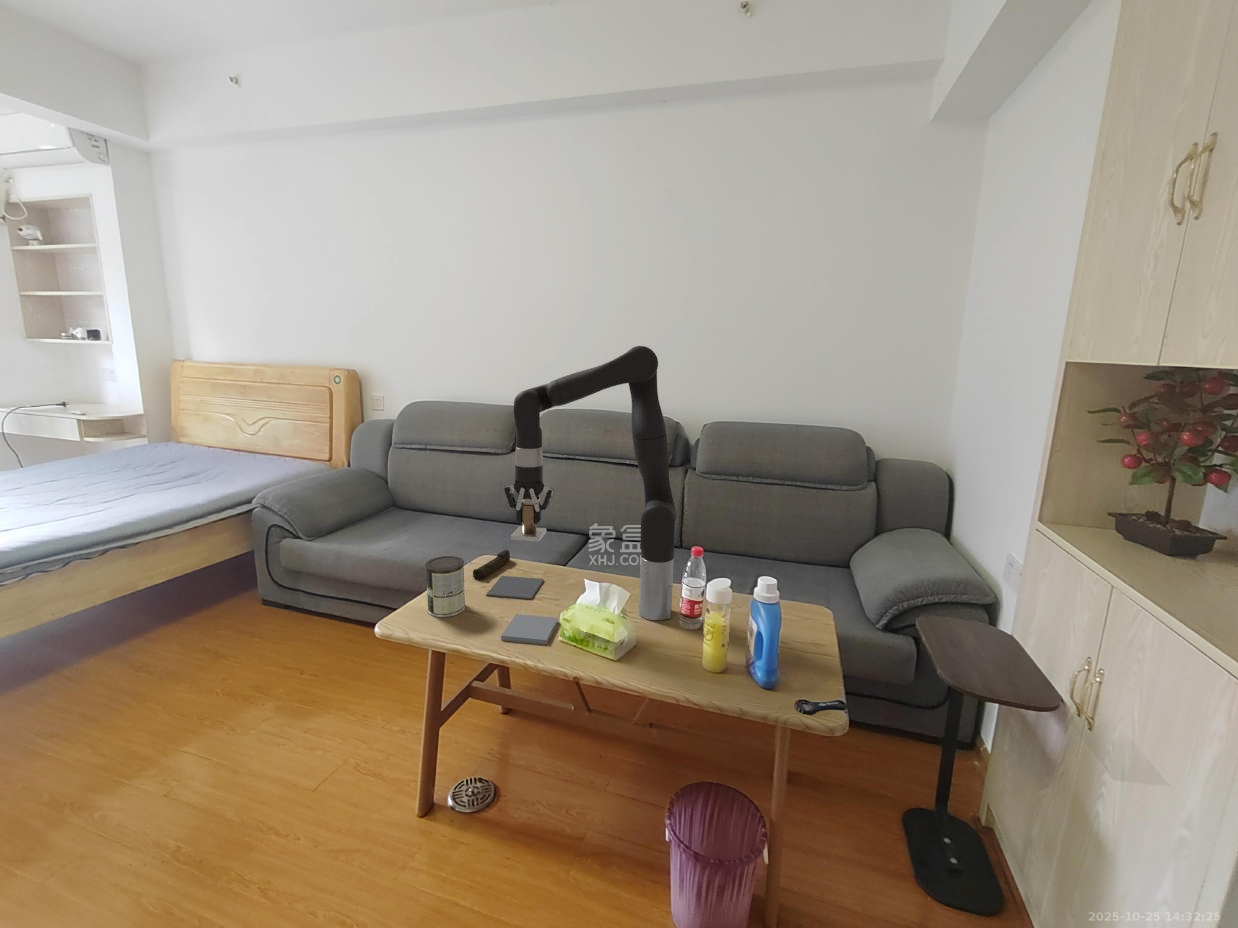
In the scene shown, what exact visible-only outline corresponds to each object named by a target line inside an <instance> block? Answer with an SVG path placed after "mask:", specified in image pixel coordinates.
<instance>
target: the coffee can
mask: <svg viewBox="0 0 1238 928" xmlns="http://www.w3.org/2000/svg"><path fill="white" fill-rule="evenodd" d="M464 564H465V561H464V559H463V558H461V557H459V556H456V555H455V556H453V555H445V556H437V557H434V558H431V559H429V560H427V561H426V563H425V565H424V567H425V570H426V571H425V575H426V591H427V592H426V593H427V613H428V614H429V615H431V616H432V617H437V618H450V617H453V616H457V615H459V614H460V613H463V611H464V610H465V609H466V603H465V602H466V600H465V597H466V596H465V573H464V569H465V568H464V566H465V565H464Z"/></svg>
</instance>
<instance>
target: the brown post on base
mask: <svg viewBox="0 0 1238 928" xmlns="http://www.w3.org/2000/svg"><path fill="white" fill-rule="evenodd" d="M535 511H536V510H535V507H534V504H533V501H532V502H531V501H530V502H524V503H523V504H522V523H521V526H518V527H517V528H516V529H515V530H514V531H513V532H512V533H511V534H510V540H513V541H514V540H515V541H527V542H540V541H541V540H542V538H543V537H544V536H545V535H546V533H547V528H546V527H537V524H535Z"/></svg>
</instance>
